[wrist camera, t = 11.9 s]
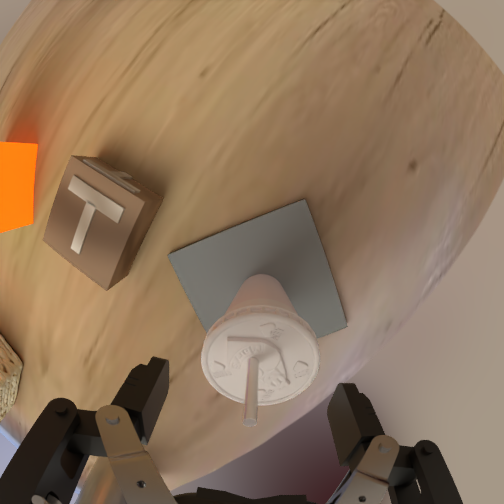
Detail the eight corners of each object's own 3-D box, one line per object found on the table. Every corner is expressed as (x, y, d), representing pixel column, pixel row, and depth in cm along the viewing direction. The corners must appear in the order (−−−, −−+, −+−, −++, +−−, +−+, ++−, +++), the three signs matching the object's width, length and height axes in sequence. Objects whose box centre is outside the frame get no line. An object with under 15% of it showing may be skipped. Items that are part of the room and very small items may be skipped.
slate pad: (345, 323, 24) (347, 326, 23) (227, 363, 25) (226, 367, 25) (304, 198, 21) (305, 199, 21) (169, 253, 23) (167, 255, 22)
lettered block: (127, 275, 24) (105, 291, 20) (68, 231, 23) (41, 240, 19) (165, 196, 22) (145, 199, 18) (97, 155, 21) (70, 152, 17)
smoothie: (263, 241, 22) (266, 337, 8) (315, 296, 23) (367, 422, 9) (207, 292, 23) (150, 415, 9) (259, 341, 24) (255, 477, 10)
